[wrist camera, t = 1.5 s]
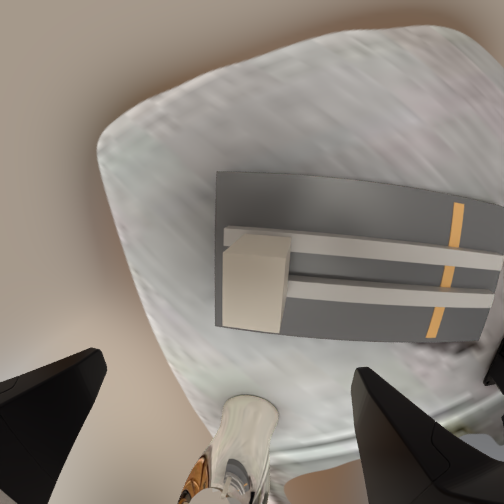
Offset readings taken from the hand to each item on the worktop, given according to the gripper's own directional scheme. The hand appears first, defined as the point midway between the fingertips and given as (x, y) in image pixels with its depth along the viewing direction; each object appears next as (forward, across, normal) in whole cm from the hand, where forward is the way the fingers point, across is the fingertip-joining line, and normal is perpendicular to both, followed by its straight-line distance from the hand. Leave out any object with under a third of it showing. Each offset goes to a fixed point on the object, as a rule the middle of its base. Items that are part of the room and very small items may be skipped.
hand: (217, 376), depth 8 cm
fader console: (+14, -9, 0) cm, 16 cm away
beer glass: (+14, +1, +18) cm, 23 cm away
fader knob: (+12, -1, 0) cm, 12 cm away
